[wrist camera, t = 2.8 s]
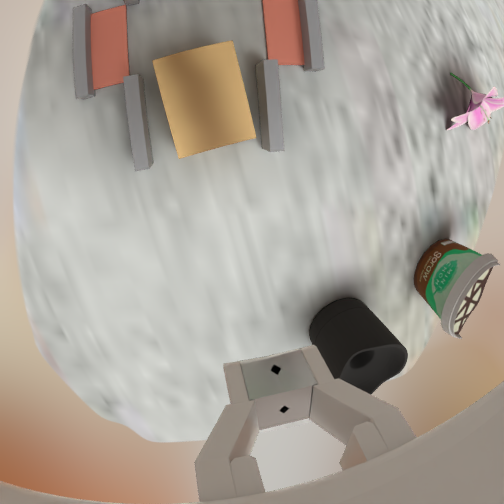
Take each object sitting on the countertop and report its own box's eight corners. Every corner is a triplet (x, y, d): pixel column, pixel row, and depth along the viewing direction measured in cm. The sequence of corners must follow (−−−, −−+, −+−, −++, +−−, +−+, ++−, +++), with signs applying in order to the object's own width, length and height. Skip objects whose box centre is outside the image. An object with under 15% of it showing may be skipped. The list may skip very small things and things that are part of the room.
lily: (406, 105, 28) (467, 154, 23) (446, 28, 20) (516, 68, 15) (445, 126, 34) (492, 168, 29) (478, 65, 26) (531, 103, 21)
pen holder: (360, 342, 41) (393, 389, 32) (301, 354, 40) (328, 410, 31) (374, 289, 37) (417, 335, 28) (309, 299, 36) (345, 355, 27)
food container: (428, 221, 35) (482, 254, 26) (453, 230, 36) (502, 261, 27) (394, 301, 39) (435, 344, 30) (420, 302, 41) (459, 341, 32)
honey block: (224, 53, 22) (232, 40, 18) (244, 134, 26) (256, 137, 22) (158, 70, 22) (152, 60, 18) (180, 151, 26) (178, 159, 21)
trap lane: (296, -72, 16) (313, -93, 12) (319, 144, 28) (344, 151, 23) (85, -53, 13) (72, -74, 8) (94, 175, 24) (76, 188, 20)
